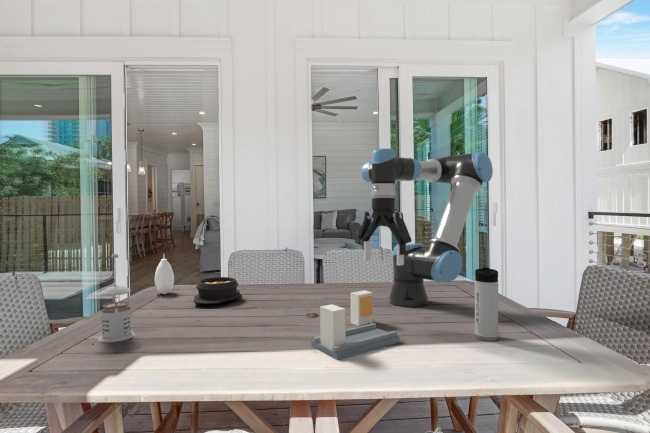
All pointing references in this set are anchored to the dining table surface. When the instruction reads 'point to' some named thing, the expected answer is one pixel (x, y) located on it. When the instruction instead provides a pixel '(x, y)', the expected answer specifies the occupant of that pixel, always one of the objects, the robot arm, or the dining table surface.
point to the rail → (348, 335)
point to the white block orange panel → (361, 308)
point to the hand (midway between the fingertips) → (383, 262)
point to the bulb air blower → (164, 277)
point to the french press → (116, 315)
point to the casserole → (216, 290)
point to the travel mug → (486, 304)
